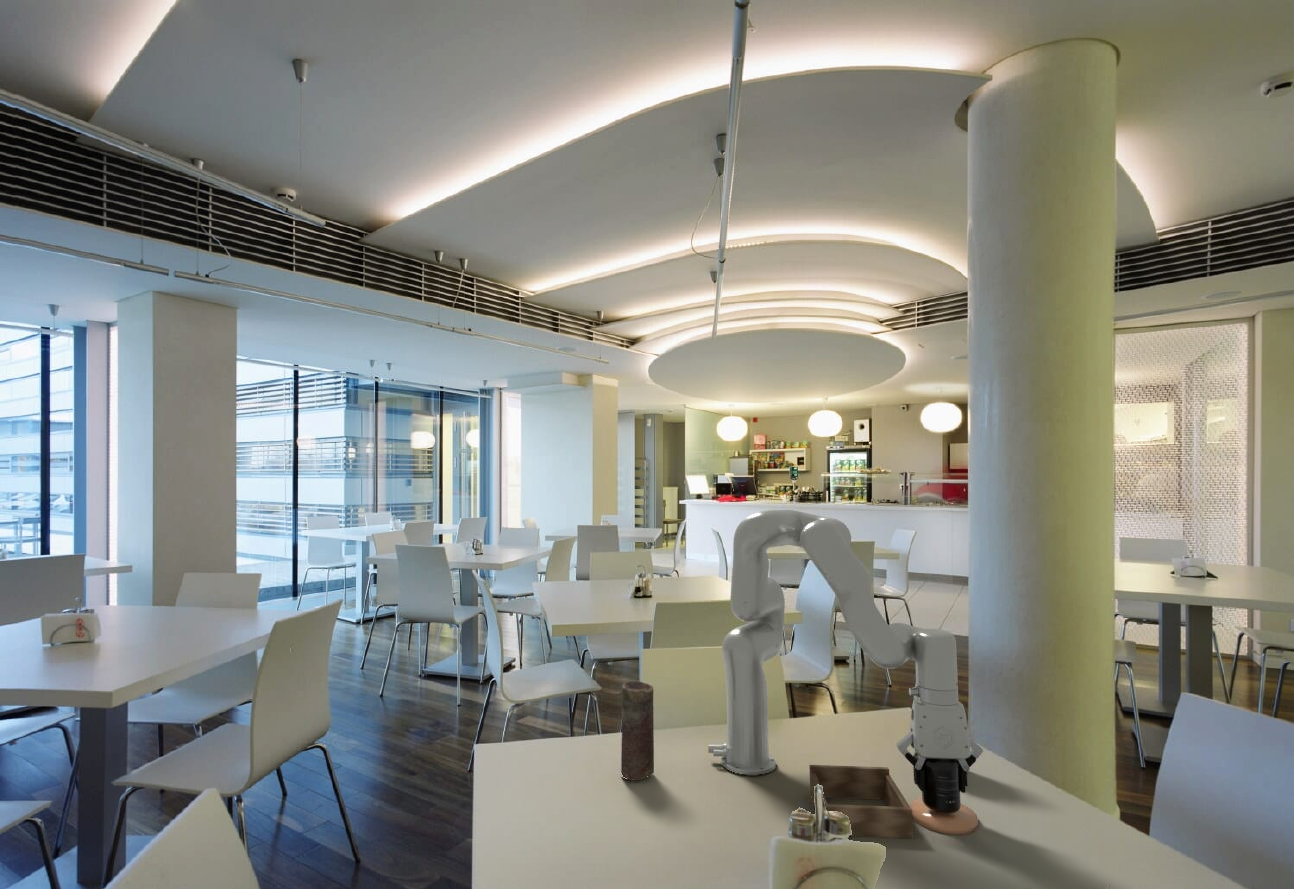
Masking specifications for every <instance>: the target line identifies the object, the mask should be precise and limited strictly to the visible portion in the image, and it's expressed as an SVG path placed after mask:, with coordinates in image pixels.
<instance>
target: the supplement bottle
mask: <svg viewBox="0 0 1294 889" xmlns="http://www.w3.org/2000/svg"><path fill="white" fill-rule="evenodd" d="M922 769H923V770H924V772H925V791H921V798H922V800H923V803H924V804H925V805H926V806H927V807H928V808H929V809H931V810H934V811H936V812H940V813H955V812H957V811H958V810H959V809H960V806H961V804H962V803H961V791H960V778H959V763H958V761H957V760H956V759H932V758H926V759H925V761H924V763H923V766H922Z"/></svg>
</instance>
